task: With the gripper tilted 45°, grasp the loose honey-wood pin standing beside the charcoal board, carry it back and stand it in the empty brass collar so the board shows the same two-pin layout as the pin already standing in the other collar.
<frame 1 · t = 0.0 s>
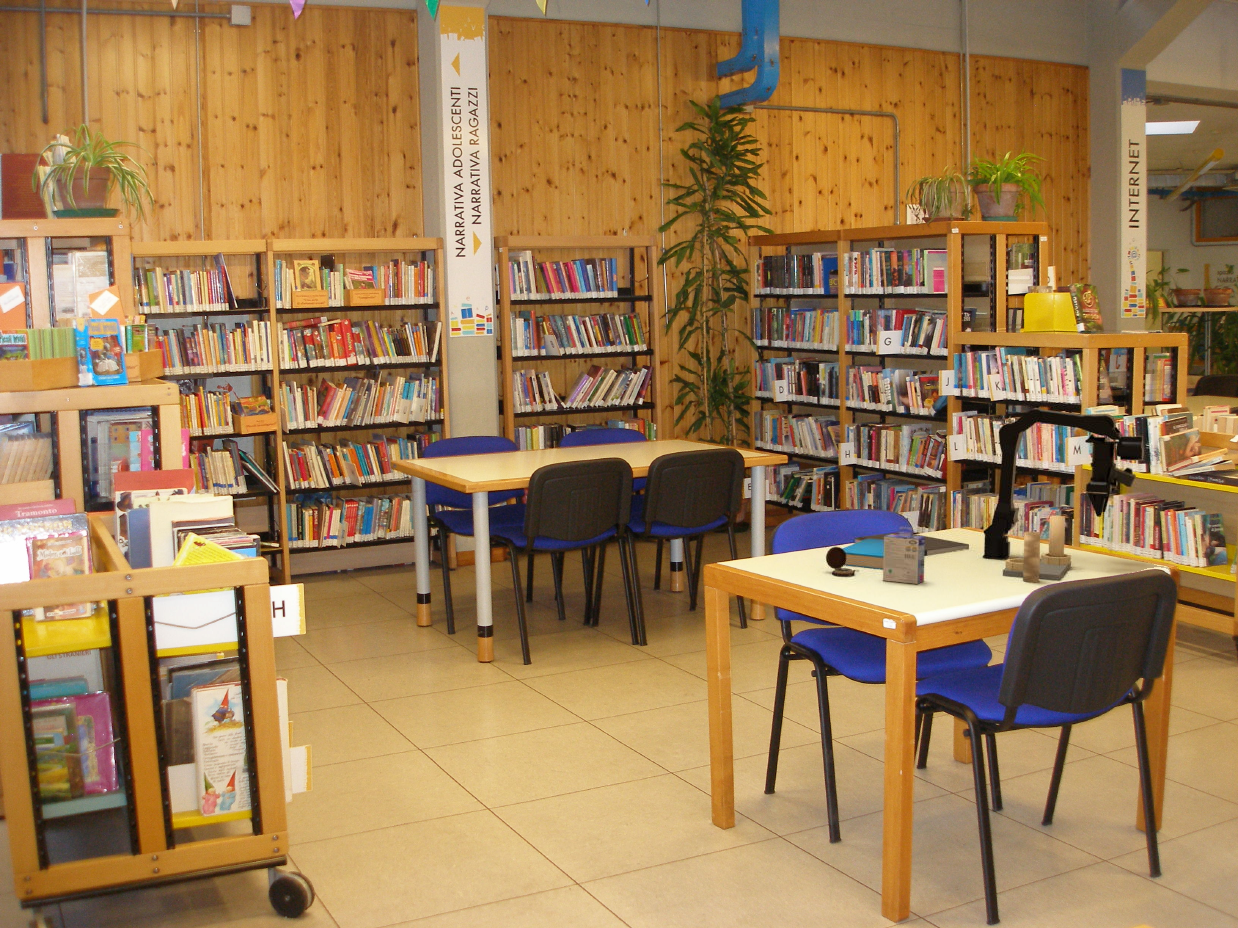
hand: (1101, 514, 330), 15 cm above the table, tool pointing down, fingers open, 9 cm apart
ink cartridge box: (903, 581, 314), on the table
notebook: (909, 548, 365), on the table
book: (877, 560, 343), on the table
pin: (1030, 580, 312), on the table
layout board: (1037, 570, 325), on the table
compass: (844, 574, 324), on the table
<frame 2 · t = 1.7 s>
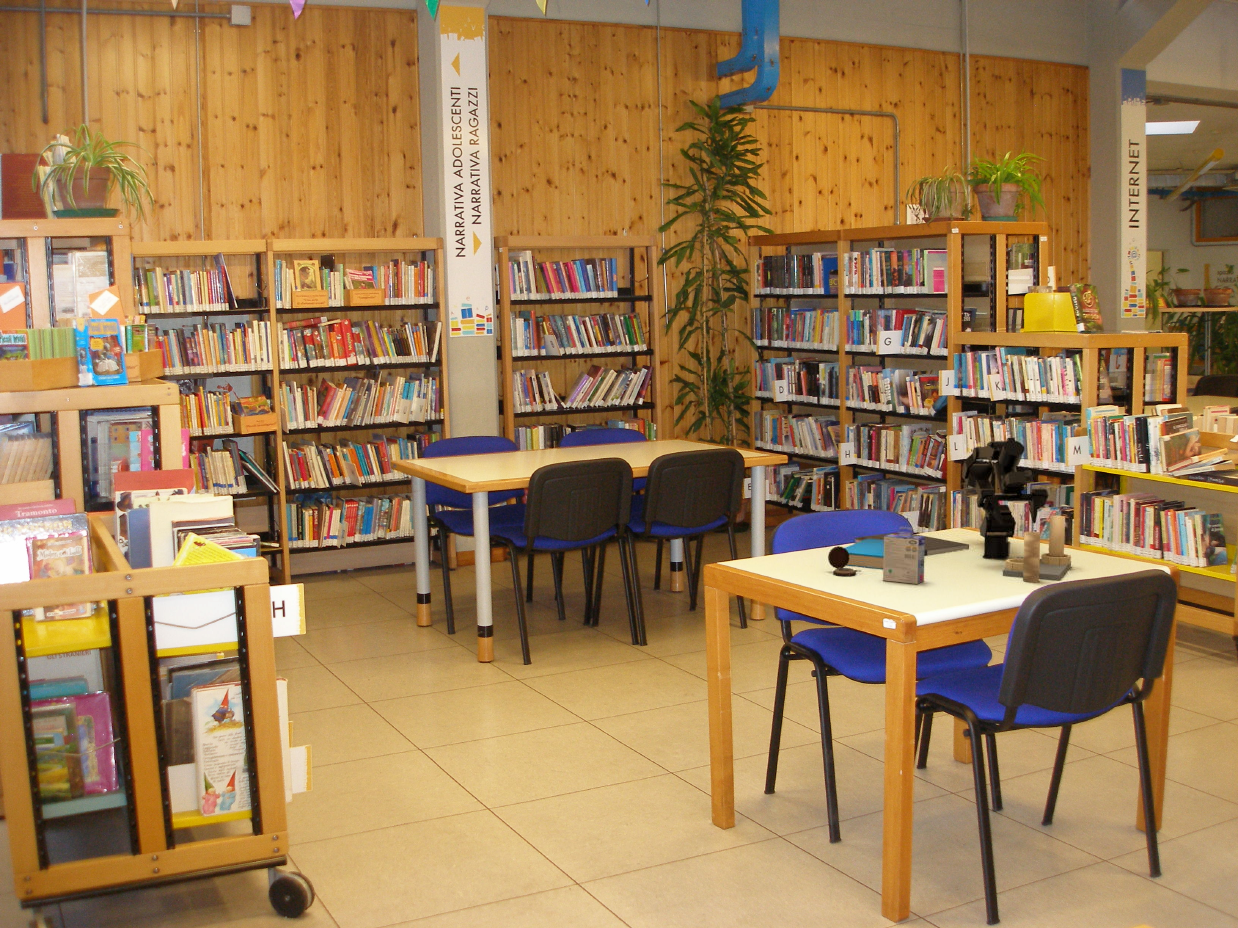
hand: (1018, 522, 325), 13 cm above the table, tool tilted 45°, fingers open, 9 cm apart
notebook: (909, 548, 365), on the table, touching book
book: (877, 561, 343), on the table, touching notebook
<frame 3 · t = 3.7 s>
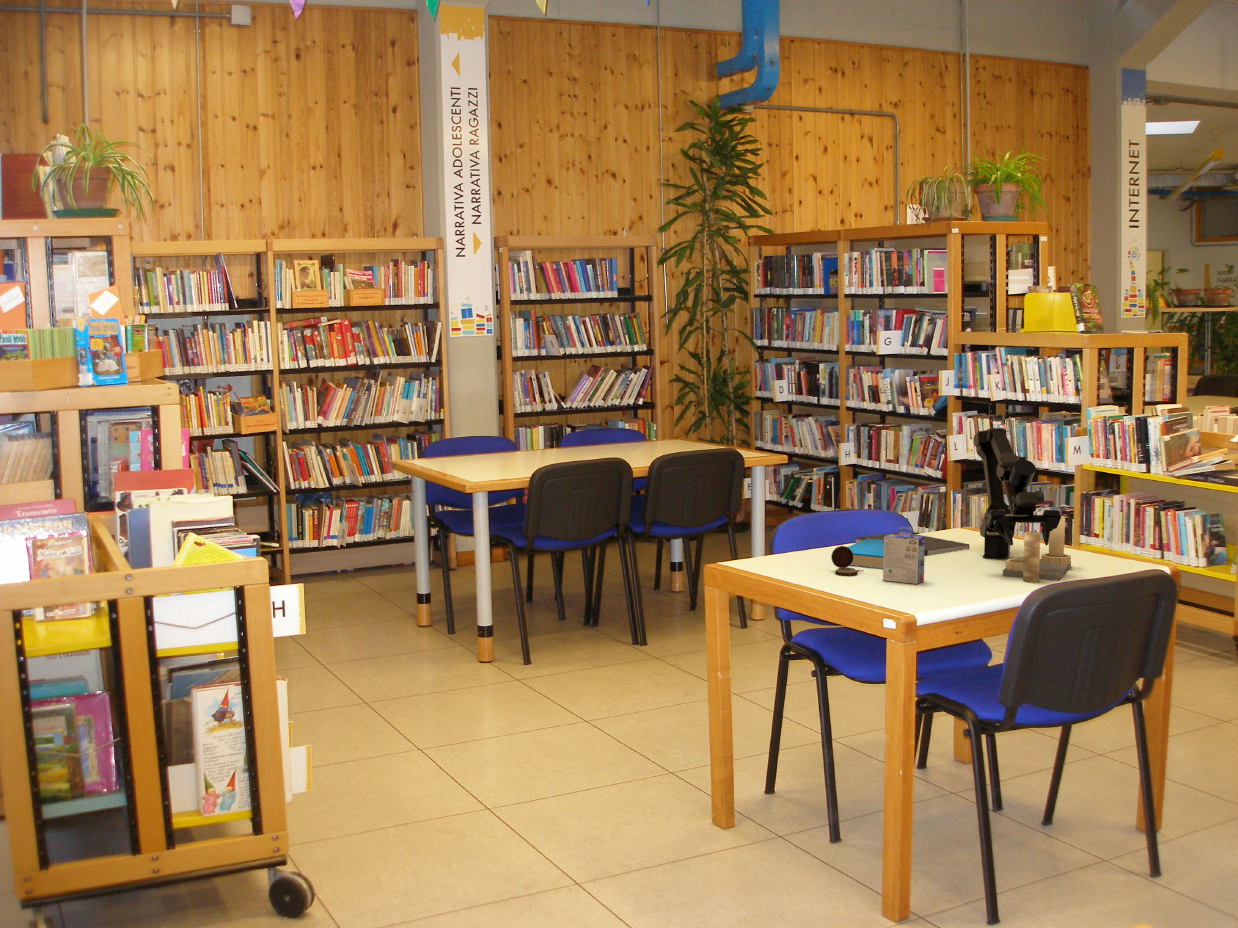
hand: (1029, 544, 313), 9 cm above the table, tool tilted 45°, fingers open, 9 cm apart
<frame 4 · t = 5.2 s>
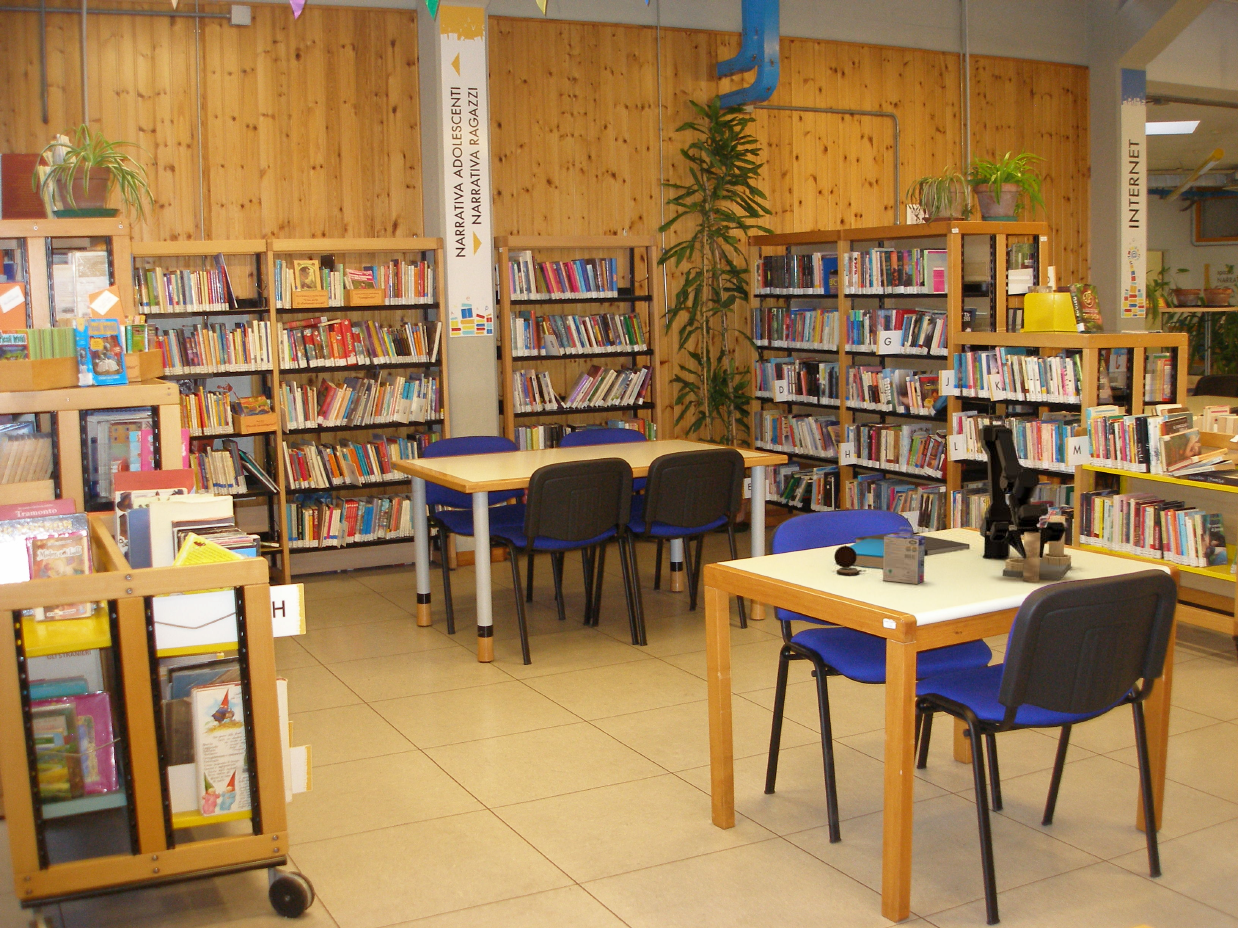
hand: (1033, 557, 310), 7 cm above the table, tool tilted 45°, fingers closed on pin, 4 cm apart
pin: (1030, 580, 312), on the table, touching gripper
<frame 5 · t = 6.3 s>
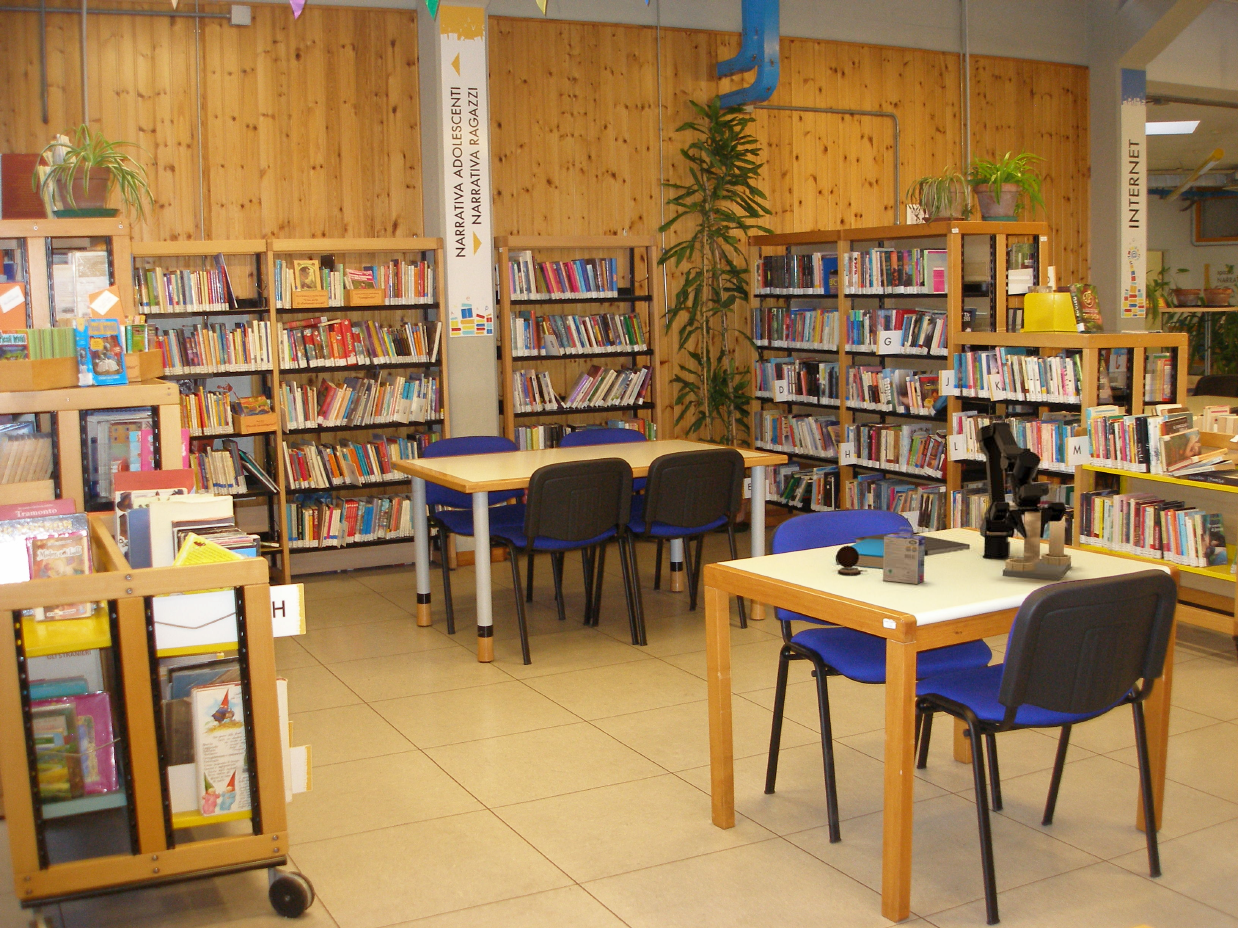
hand: (1033, 537, 310), 12 cm above the table, tool tilted 45°, fingers closed on pin, 4 cm apart
notebook: (910, 548, 365), on the table
book: (878, 560, 344), on the table
pin: (1031, 561, 312), point 5 cm above the table, touching gripper
when the fingers open (9 cm above the table, at t = 8.5 s): pin stays where it is, resting on layout board.
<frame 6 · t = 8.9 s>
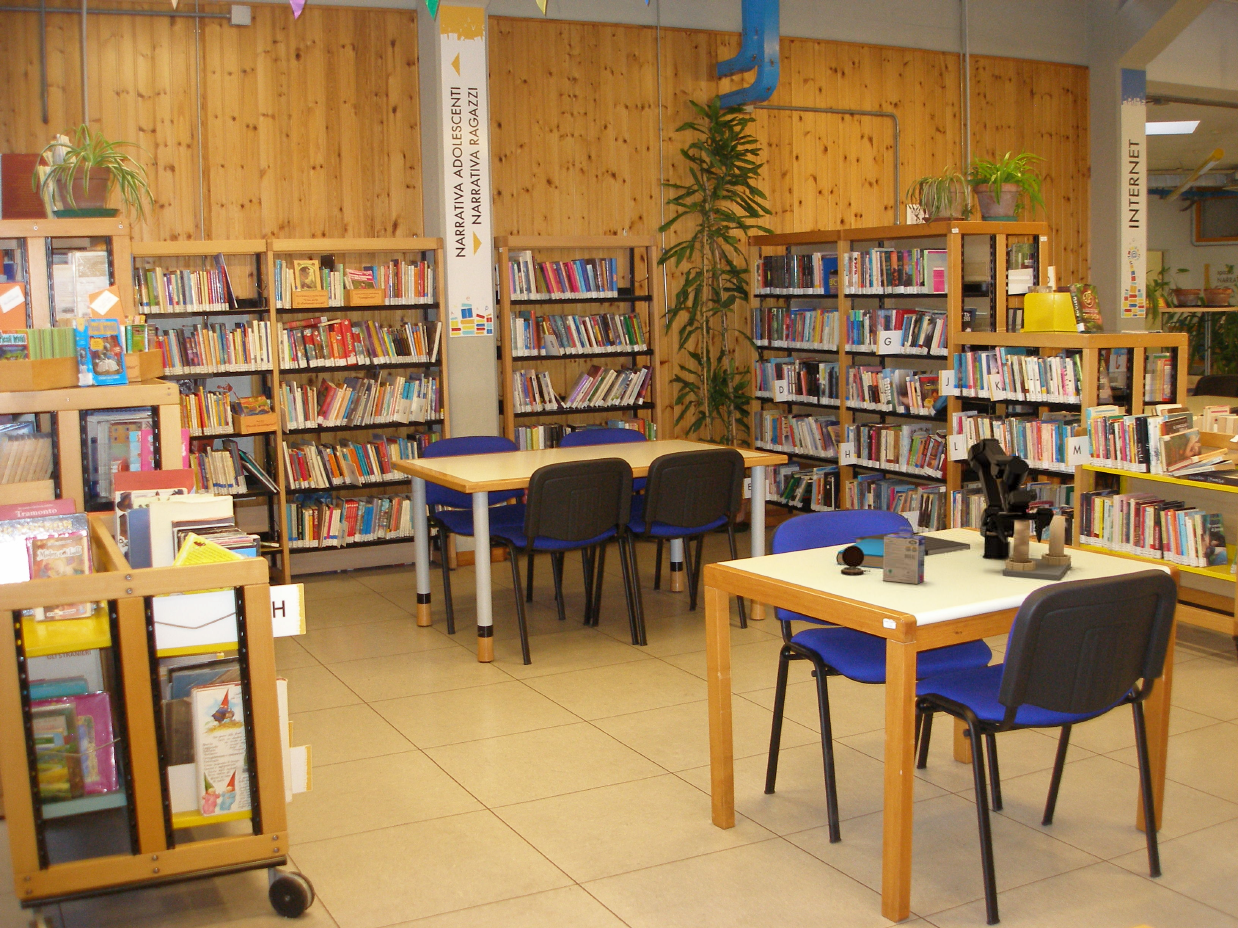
hand: (1022, 542, 320), 9 cm above the table, tool tilted 45°, fingers open, 9 cm apart
pin: (1020, 568, 322), point 2 cm above the table, touching layout board
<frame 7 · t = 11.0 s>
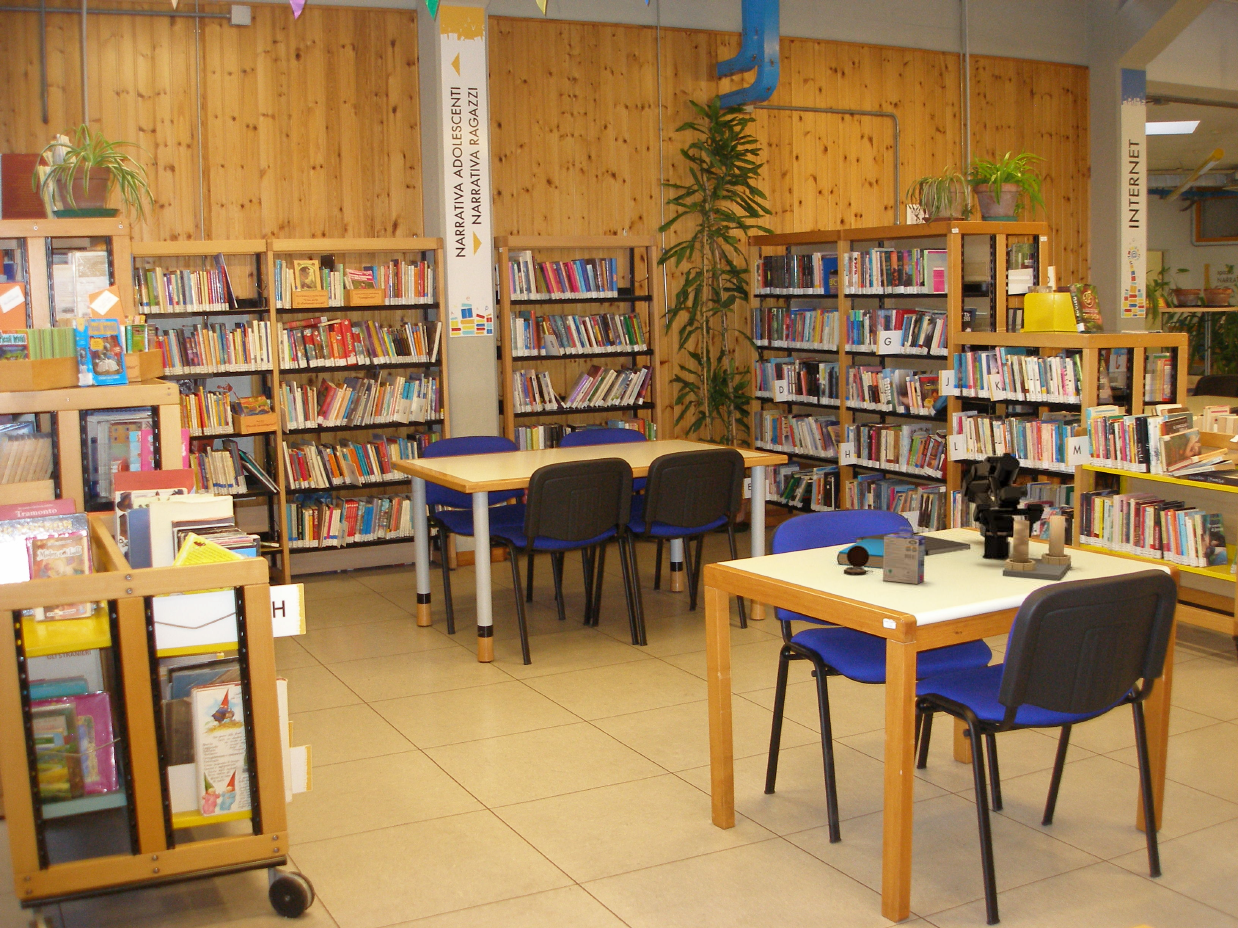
hand: (1013, 536, 328), 9 cm above the table, tool tilted 45°, fingers open, 9 cm apart
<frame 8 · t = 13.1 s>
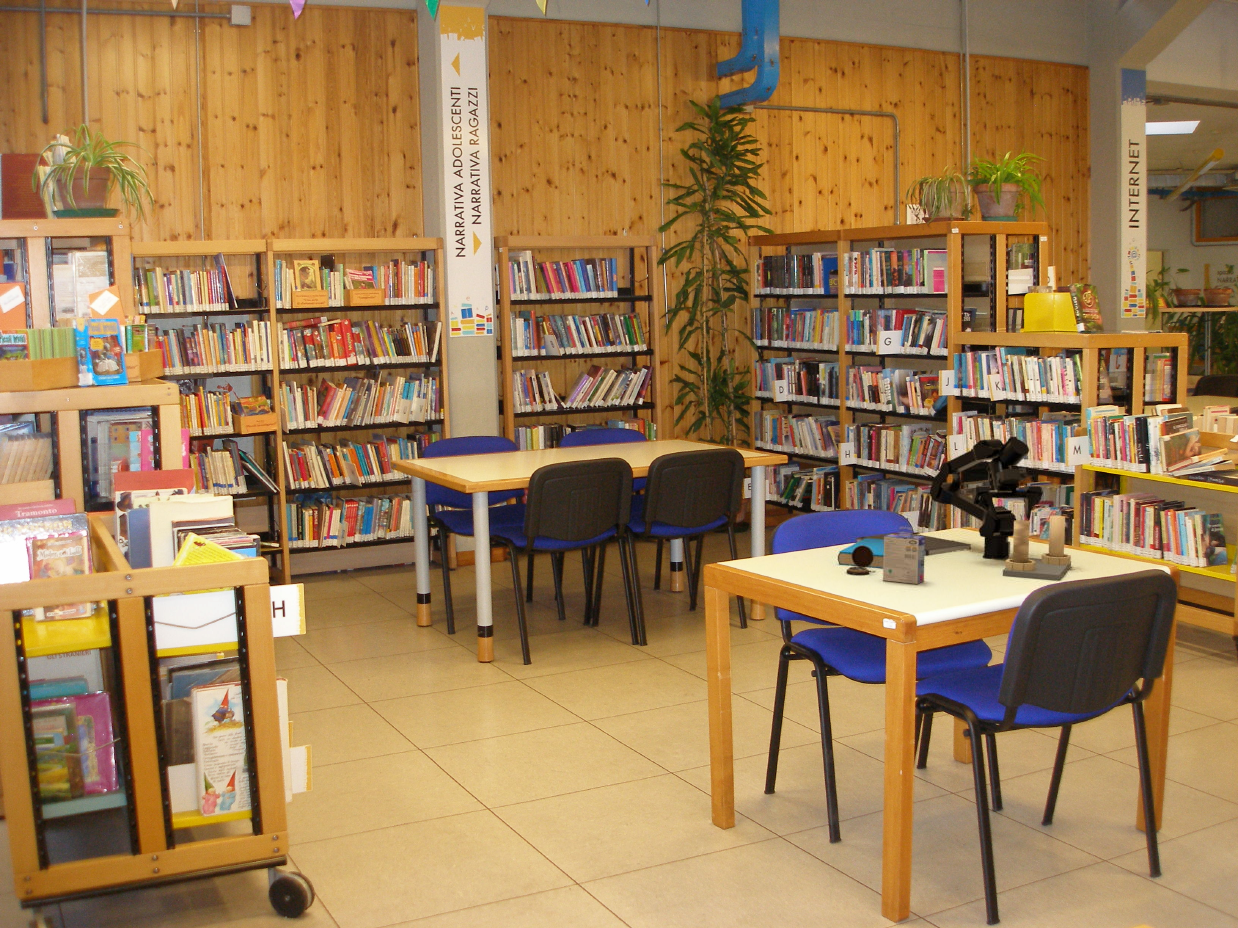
hand: (1012, 518, 330), 14 cm above the table, tool tilted 45°, fingers open, 9 cm apart
at the end: pin 0.1 cm from the target spot on the layout board, point 1.5 cm above the layout board's base; pin tilted 0°; the gripper is holding nothing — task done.
